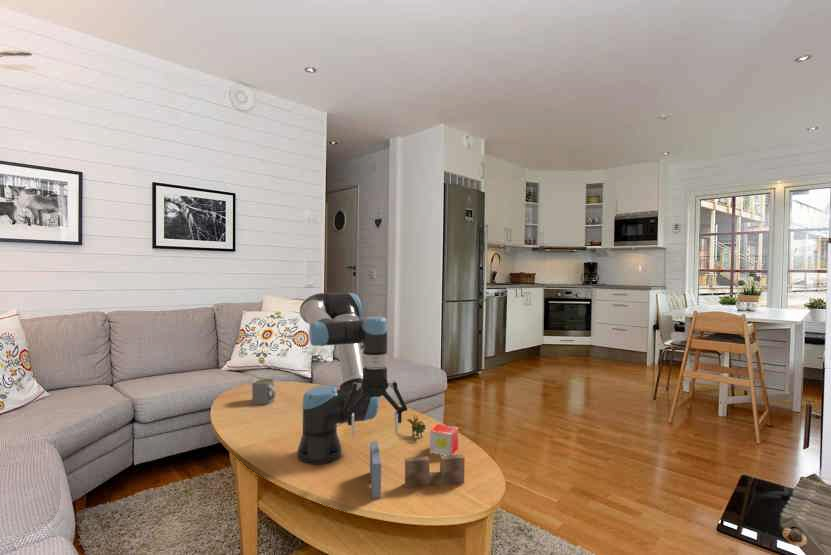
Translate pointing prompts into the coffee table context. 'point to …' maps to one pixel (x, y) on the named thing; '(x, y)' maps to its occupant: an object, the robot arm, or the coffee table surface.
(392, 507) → the coffee table surface
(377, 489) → the grey slotted plate
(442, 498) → the coffee table surface
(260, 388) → the coffee mug
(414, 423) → the figurine
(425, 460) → the walnut slotted upright
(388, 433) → the coffee table surface
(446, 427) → the red patterned cube
